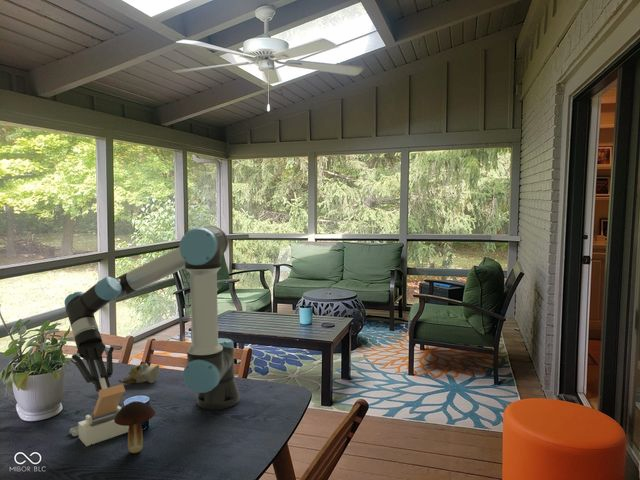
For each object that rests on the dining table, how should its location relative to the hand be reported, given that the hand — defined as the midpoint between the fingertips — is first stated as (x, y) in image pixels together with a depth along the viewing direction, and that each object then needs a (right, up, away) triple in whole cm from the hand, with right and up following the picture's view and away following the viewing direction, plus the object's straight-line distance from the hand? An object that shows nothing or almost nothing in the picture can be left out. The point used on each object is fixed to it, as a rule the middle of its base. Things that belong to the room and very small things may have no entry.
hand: (106, 398), depth 140 cm
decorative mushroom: (+12, -13, -7) cm, 19 cm away
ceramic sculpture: (-7, -10, +47) cm, 48 cm away
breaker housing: (-4, -12, +5) cm, 14 cm away
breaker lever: (-3, -6, +3) cm, 7 cm away
